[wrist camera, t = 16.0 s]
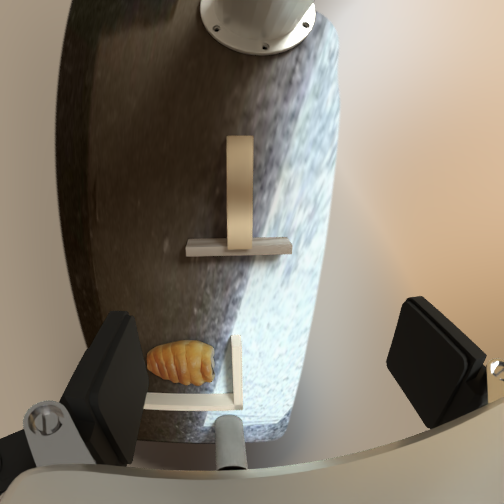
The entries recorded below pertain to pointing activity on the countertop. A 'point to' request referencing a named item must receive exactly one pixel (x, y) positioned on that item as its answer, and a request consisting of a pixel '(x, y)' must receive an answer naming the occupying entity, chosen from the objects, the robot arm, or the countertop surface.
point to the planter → (230, 444)
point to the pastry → (183, 362)
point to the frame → (205, 400)
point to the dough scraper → (239, 210)
